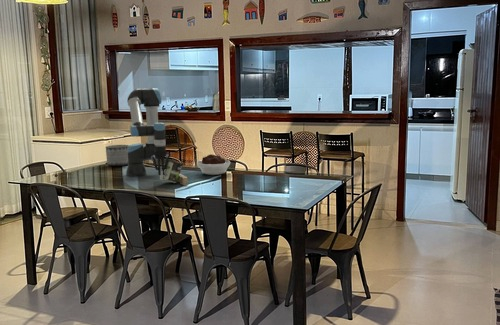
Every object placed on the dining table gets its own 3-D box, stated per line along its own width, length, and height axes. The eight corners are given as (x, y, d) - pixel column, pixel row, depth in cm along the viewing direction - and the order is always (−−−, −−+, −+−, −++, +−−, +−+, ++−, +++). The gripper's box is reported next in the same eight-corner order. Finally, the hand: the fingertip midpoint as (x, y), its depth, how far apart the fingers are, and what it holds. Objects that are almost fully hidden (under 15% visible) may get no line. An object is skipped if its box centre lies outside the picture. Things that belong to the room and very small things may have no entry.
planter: (102, 167, 403) (101, 147, 400) (112, 163, 422) (111, 144, 419) (124, 167, 400) (123, 147, 397) (133, 163, 419) (132, 144, 416)
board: (174, 179, 348) (174, 172, 347) (178, 179, 349) (178, 172, 348) (183, 185, 328) (183, 178, 327) (187, 184, 329) (187, 177, 328)
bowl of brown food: (225, 170, 382) (225, 151, 380) (234, 175, 359) (234, 155, 356) (194, 172, 374) (193, 153, 372) (201, 178, 351) (200, 157, 348)
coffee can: (178, 183, 339) (184, 164, 338) (174, 183, 329) (180, 163, 328) (165, 178, 340) (171, 159, 340) (160, 178, 330) (166, 158, 330)
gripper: (152, 146, 322) (153, 181, 326) (170, 145, 328) (172, 179, 331) (149, 145, 329) (150, 179, 333) (167, 144, 334) (169, 177, 338)
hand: (161, 179), depth 332 cm, fingers closed
